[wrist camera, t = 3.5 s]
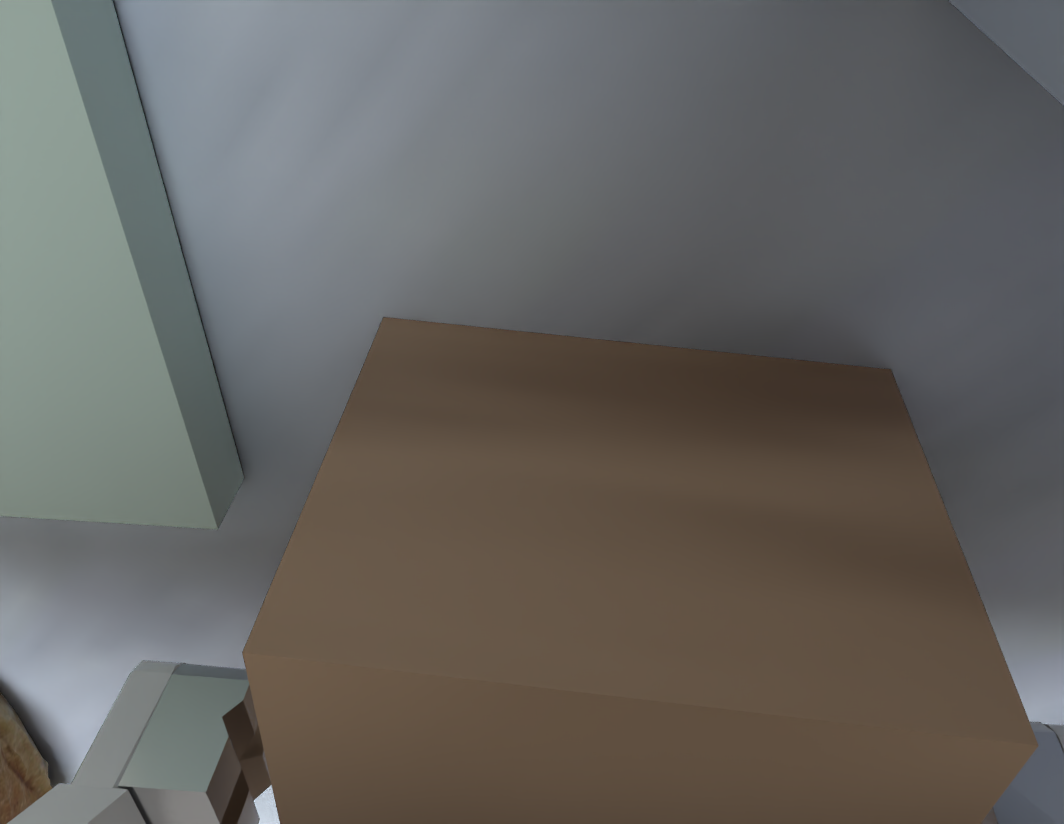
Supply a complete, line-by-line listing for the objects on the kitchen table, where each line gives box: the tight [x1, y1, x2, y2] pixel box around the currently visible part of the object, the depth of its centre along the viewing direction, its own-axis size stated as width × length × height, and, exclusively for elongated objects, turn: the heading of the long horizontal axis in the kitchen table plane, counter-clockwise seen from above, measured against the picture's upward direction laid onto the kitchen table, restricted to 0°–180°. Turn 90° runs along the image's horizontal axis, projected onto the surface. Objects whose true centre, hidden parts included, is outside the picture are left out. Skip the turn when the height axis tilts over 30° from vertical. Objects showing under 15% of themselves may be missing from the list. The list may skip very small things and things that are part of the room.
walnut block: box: [242, 317, 1039, 824], centre depth 11 cm, size 7×6×5 cm
